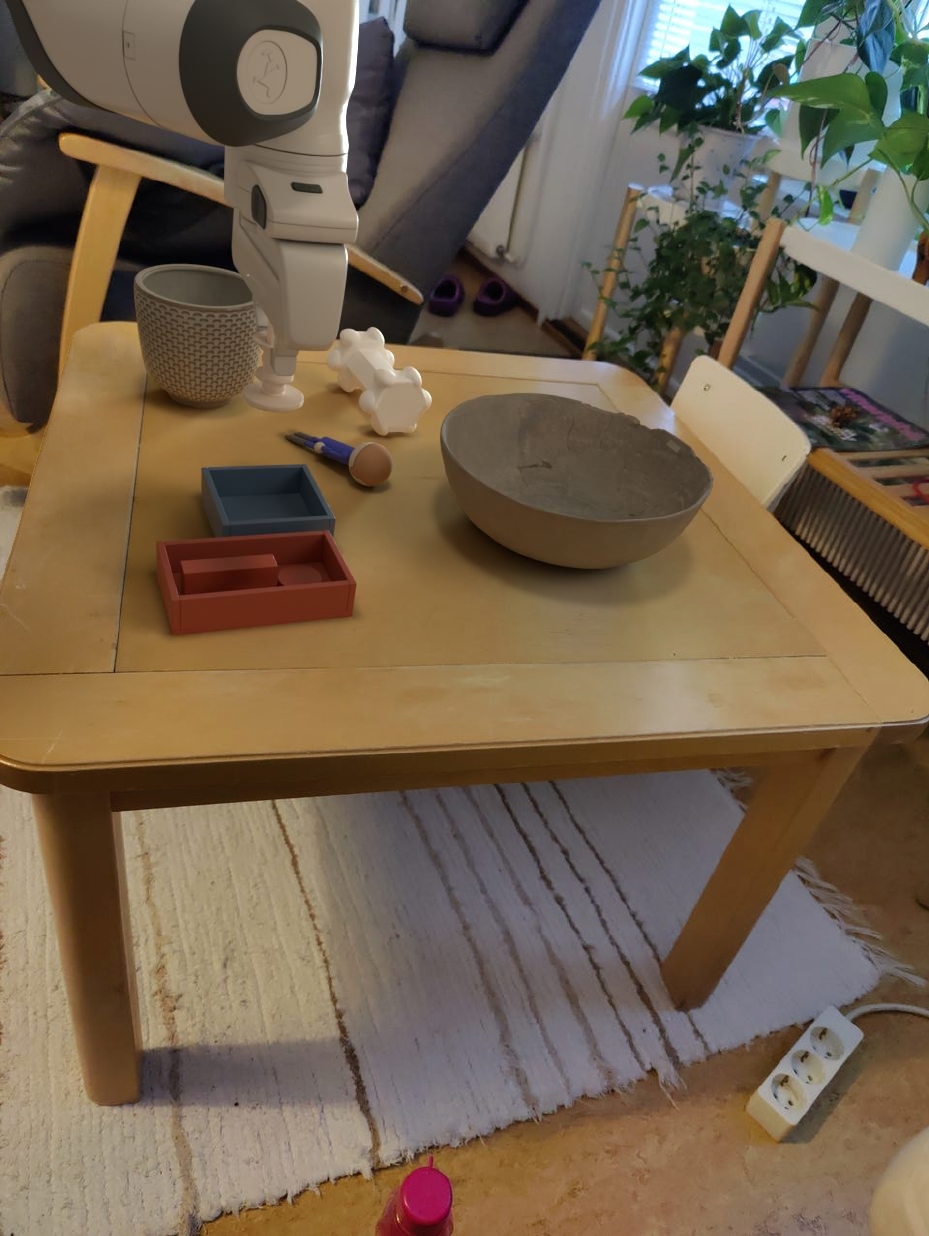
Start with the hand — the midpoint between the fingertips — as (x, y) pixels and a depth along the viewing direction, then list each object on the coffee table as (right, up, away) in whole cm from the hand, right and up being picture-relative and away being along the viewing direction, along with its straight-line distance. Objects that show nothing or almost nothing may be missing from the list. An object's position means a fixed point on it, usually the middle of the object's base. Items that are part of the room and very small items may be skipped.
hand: (274, 359), depth 73 cm
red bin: (-2, -20, +1) cm, 20 cm away
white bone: (+5, +4, +34) cm, 35 cm away
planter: (-15, +4, +29) cm, 33 cm away
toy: (+2, -5, +22) cm, 22 cm away
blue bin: (-3, -13, +10) cm, 17 cm away
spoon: (-2, -20, 0) cm, 20 cm away
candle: (-1, -3, +2) cm, 4 cm away
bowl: (+26, -12, +20) cm, 35 cm away
